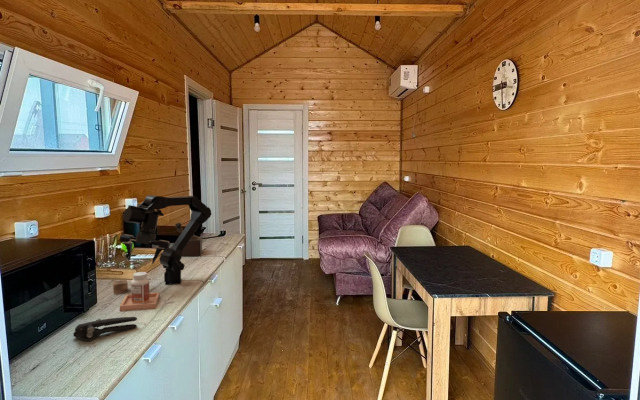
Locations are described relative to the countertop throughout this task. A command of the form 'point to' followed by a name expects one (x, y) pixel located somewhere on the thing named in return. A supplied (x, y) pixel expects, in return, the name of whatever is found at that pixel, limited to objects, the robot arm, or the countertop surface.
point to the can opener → (90, 332)
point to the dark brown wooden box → (191, 245)
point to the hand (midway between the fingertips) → (140, 262)
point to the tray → (129, 305)
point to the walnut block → (120, 286)
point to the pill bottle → (140, 288)
